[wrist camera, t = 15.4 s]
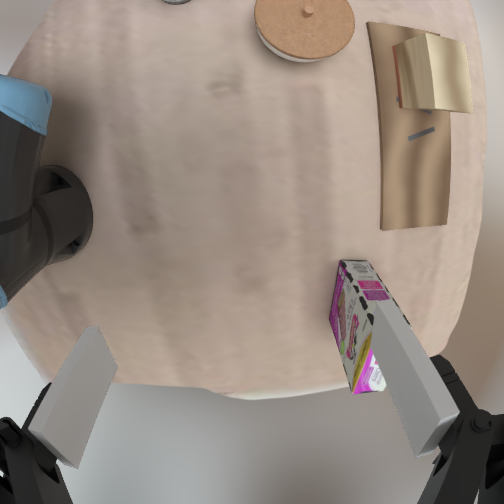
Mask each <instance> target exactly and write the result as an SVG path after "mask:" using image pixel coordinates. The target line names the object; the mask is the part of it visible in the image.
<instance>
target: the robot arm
mask: <svg viewBox="0 0 504 504" xmlns="http://www.w3.org/2000/svg"><path fill="white" fill-rule="evenodd" d="M51 106H52V96H51V93H50V92H49V90H48V89H47V88H45V87H43V86H41V85H38V84H35V83H32V82H29V81H25V80H21V79H18V78H14V77H10V76H6V75H1V74H0V309H1V308H3V307H5V306H6V305H7V303H8V302H9V301H10V300H11V299H12V298H13V297H14V295H15V294H16V293H17V292H18V291H19V290H20V289H21V288H22V287H23V286H24V285H25V284H27V283H28V282H29V281H30V280H31V279H32V278H33V277H34V276H35V275H36V274H37V273H38V272H39V271H40V270H41V269H42V268H43V267H45V266H46V265H49V264H53V263H57V262H61V261H64V260H67V259H69V258H71V257H73V256H74V255H75V254H76V253H78V252H79V251H80V250H81V249H82V248H83V247H84V246H85V244H86V243H87V241H88V239H89V237H90V234H91V230H92V224H93V213H92V207H91V202H90V199H89V196H88V194H87V192H86V190H85V188H84V186H83V184H82V183H81V182H80V180H79V179H78V178H77V177H76V176H75V175H74V174H73V173H72V172H70V171H69V170H67V169H65V168H63V167H60V166H56V165H48V166H44V167H41V168H39V162H40V157H41V153H42V148H43V144H44V139H45V135H47V132H48V130H47V124H48V119H49V115H50V111H51ZM370 348H371V350H372V352H373V355H374V357H375V359H376V361H377V364H378V366H379V368H380V370H381V373H382V375H383V377H384V380H385V382H386V384H387V387H388V389H389V391H390V394H391V396H392V399H393V401H394V404H395V406H396V409H397V411H398V413H399V416H400V419H401V421H402V424H403V426H404V429H405V432H406V434H407V437H408V439H409V442H410V445H411V448H412V450H413V453H414V456H415V458H418V457H421V456H423V455H426V454H429V453H432V452H433V451H434V450H435V448H436V447H437V446H438V445H439V447H440V450H441V452H440V454H439V455H438V456H437V457H436V459H435V460H434V462H433V464H435V463H436V464H435V466H434V468H433V471H432V473H431V475H430V478H429V480H428V482H427V485H426V487H425V489H424V491H423V493H422V495H421V497H420V499H419V501H418V503H417V504H474V501H475V498H476V495H477V492H478V489H479V495H478V503H477V504H504V414H500V415H491V414H490V413H489V412H487V411H485V410H482V409H478V408H477V406H476V405H475V403H474V402H473V400H472V398H471V396H470V395H469V393H468V391H467V390H466V388H465V386H464V385H463V383H462V381H461V380H460V378H459V376H458V375H457V373H455V370H454V368H453V367H452V365H451V364H450V362H449V361H448V360H446V359H445V358H444V357H442V356H441V355H437V356H433V357H430V358H429V357H428V355H427V353H426V352H425V350H424V348H423V347H422V345H421V344H420V342H419V340H418V339H417V337H416V336H415V334H414V332H413V331H412V329H411V328H410V326H409V325H408V323H407V322H406V320H405V319H404V317H403V316H402V314H401V313H400V311H399V310H398V308H397V307H396V305H395V304H394V302H393V301H392V299H388V300H382V301H376V308H375V315H374V323H373V330H372V337H371V343H370ZM117 368H118V365H117V363H116V361H115V359H114V358H113V356H112V354H111V352H110V350H109V348H108V346H107V344H106V341H105V339H104V337H103V335H102V333H101V331H100V329H99V327H86V328H85V330H84V332H83V333H82V335H81V336H80V338H79V339H78V341H77V342H76V344H75V346H74V347H73V349H72V351H71V352H70V354H69V355H68V357H67V359H66V360H65V362H64V364H63V365H62V367H61V369H60V370H59V372H58V374H57V376H56V377H55V379H54V381H53V383H51V382H50V383H49V384H48V385H47V386H46V387H45V388H44V389H43V390H42V391H41V393H40V395H39V397H38V399H37V400H36V402H35V404H34V406H33V407H32V409H31V411H30V413H29V415H28V417H27V419H26V421H25V423H24V425H23V427H22V428H21V429H20V428H19V426H18V425H17V424H16V423H15V422H14V421H13V420H12V419H11V418H9V417H3V418H1V419H0V470H1V471H2V472H3V473H4V475H3V477H1V476H0V504H73V502H72V500H71V498H70V495H69V493H68V490H67V488H66V485H65V482H64V480H63V477H62V474H61V472H60V469H59V467H58V465H57V464H56V460H57V459H59V460H60V461H61V462H62V463H63V464H64V465H67V466H70V467H73V468H77V469H78V467H79V464H80V461H81V459H82V456H83V453H84V450H85V447H86V445H87V442H88V439H89V437H90V434H91V431H92V429H93V426H94V424H95V421H96V418H97V416H98V413H99V411H100V408H101V406H102V403H103V401H104V399H105V396H106V394H107V391H108V389H109V386H110V384H111V382H112V379H113V377H114V375H115V373H116V370H117Z"/></svg>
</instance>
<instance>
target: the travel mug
mask: <svg viewBox="0 0 504 504" xmlns="http://www.w3.org/2000/svg"><path fill="white" fill-rule="evenodd" d="M162 1H164V2H166V3H169V4H181V3H185V2H188V1H190V0H162Z"/></svg>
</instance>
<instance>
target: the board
mask: <svg viewBox="0 0 504 504" xmlns="http://www.w3.org/2000/svg"><path fill="white" fill-rule="evenodd" d="M366 24H367V29H368V35H369V40H370V46H371V53H372V60H373V67H374V75H375V83H376V93H377V103H378V115H379V130H380V151H381V222H380V229H381V230H382V231H385V230H395V229H405V228H415V227H425V226H436V225H446V224H447V217H448V207H449V193H450V174H451V127H450V112H446V111H430V110H419V109H406V108H399V97H398V87H397V78H396V70H395V63H394V56H393V49H392V46H394V45H396V44H399V43H401V42H404V41H406V40H408V39H411V38H413V37H416V36H418V35H421V34H423V33H429V34H433V35H437V36H440V34H436V33H432V32H428V31H423V30H418V29H413V28H408V27H403V26H397V25H390V24H384V23H376V22H367V23H366Z"/></svg>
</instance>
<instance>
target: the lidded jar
mask: <svg viewBox="0 0 504 504" xmlns="http://www.w3.org/2000/svg"><path fill="white" fill-rule="evenodd" d="M254 16H255V22H256V28H257V31H258V34H259V36H260V38H261V40H262V41H263V42H264V44H265V45H266V46H267V47H268V48H269V49H270V50H271V51H272V52H274V53H275V54H276V55H278V56H280V57H282V58H285V59H287V60H290V61H295V62H315V61H319V60H322V59H325V58H327V57H329V56H332V55H334V54H336V53H337V52H339V51H340V50H342V49H343V48H344V47H345V46H346V45H347V44H348V43H349V41H350V40H351V38H352V35H353V33H354V28H355V19H354V14H353V11H352V9H351V6H350V5H349V3H348V1H347V0H257V1H256V4H255V11H254Z"/></svg>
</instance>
